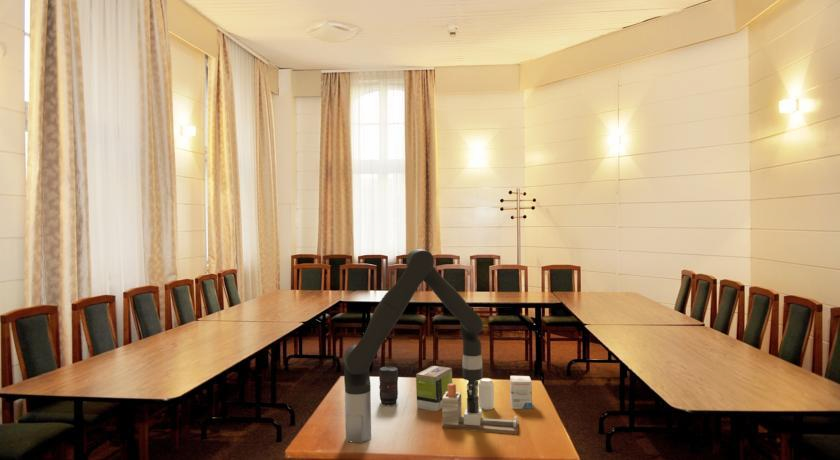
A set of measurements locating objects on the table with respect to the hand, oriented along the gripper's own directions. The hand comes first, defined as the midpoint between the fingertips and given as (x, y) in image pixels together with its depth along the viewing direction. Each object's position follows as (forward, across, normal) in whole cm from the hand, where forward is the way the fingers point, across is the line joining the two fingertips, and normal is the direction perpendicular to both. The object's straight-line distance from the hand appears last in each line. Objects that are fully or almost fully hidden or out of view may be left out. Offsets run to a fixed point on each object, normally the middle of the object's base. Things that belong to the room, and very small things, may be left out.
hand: (472, 410), depth 199 cm
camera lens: (+6, +18, +39) cm, 43 cm away
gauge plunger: (0, 0, +8) cm, 8 cm away
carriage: (+4, 0, 0) cm, 4 cm away
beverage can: (+6, +20, -3) cm, 21 cm away
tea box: (+6, +20, +19) cm, 28 cm away
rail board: (+6, 0, -3) cm, 6 cm away
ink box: (+6, +26, -17) cm, 32 cm away
